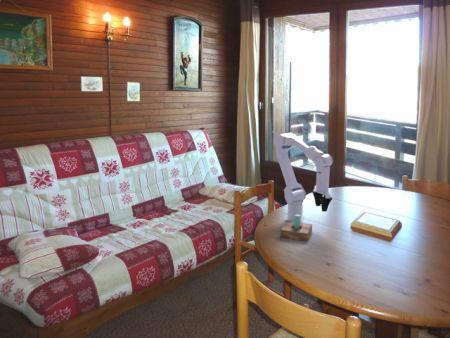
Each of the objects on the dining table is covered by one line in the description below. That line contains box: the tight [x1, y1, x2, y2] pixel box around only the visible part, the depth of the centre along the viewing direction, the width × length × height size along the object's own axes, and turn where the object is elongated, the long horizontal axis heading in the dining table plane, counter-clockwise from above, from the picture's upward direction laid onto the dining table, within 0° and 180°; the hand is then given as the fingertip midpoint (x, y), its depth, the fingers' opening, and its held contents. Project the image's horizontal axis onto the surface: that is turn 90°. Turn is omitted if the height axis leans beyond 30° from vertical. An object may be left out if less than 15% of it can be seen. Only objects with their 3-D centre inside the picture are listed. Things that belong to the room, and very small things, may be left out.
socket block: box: [280, 221, 313, 242], centre depth 179 cm, size 12×12×4 cm
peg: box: [294, 215, 302, 229], centre depth 178 cm, size 3×3×9 cm
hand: (321, 208), depth 183 cm, fingers open, 7 cm apart
